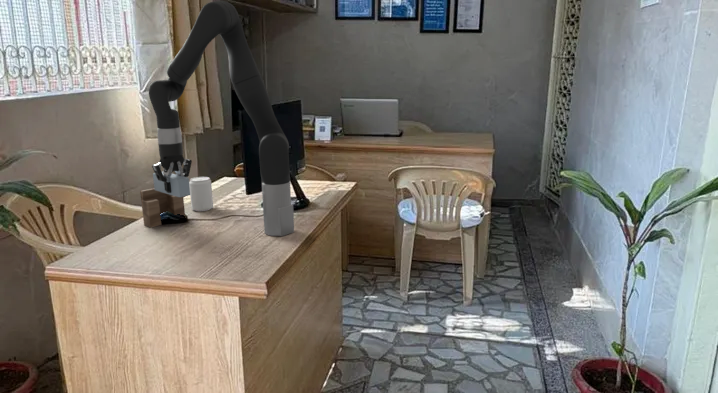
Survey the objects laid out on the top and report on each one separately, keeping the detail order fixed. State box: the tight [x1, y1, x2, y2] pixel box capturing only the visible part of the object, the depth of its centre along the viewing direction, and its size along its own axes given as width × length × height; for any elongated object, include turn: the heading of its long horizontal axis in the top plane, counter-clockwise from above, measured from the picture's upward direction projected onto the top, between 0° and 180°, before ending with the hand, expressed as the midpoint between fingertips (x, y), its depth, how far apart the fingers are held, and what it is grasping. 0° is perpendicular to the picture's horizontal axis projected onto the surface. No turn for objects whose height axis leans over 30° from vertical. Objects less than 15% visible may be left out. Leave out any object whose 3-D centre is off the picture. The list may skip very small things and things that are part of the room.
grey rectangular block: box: [152, 171, 190, 198], centre depth 182 cm, size 16×4×6 cm, turn 50°
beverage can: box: [189, 176, 214, 212], centre depth 204 cm, size 8×8×12 cm
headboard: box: [139, 187, 186, 228], centre depth 189 cm, size 6×14×12 cm, turn 140°
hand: (175, 191), depth 181 cm, fingers closed on grey rectangular block, 4 cm apart
